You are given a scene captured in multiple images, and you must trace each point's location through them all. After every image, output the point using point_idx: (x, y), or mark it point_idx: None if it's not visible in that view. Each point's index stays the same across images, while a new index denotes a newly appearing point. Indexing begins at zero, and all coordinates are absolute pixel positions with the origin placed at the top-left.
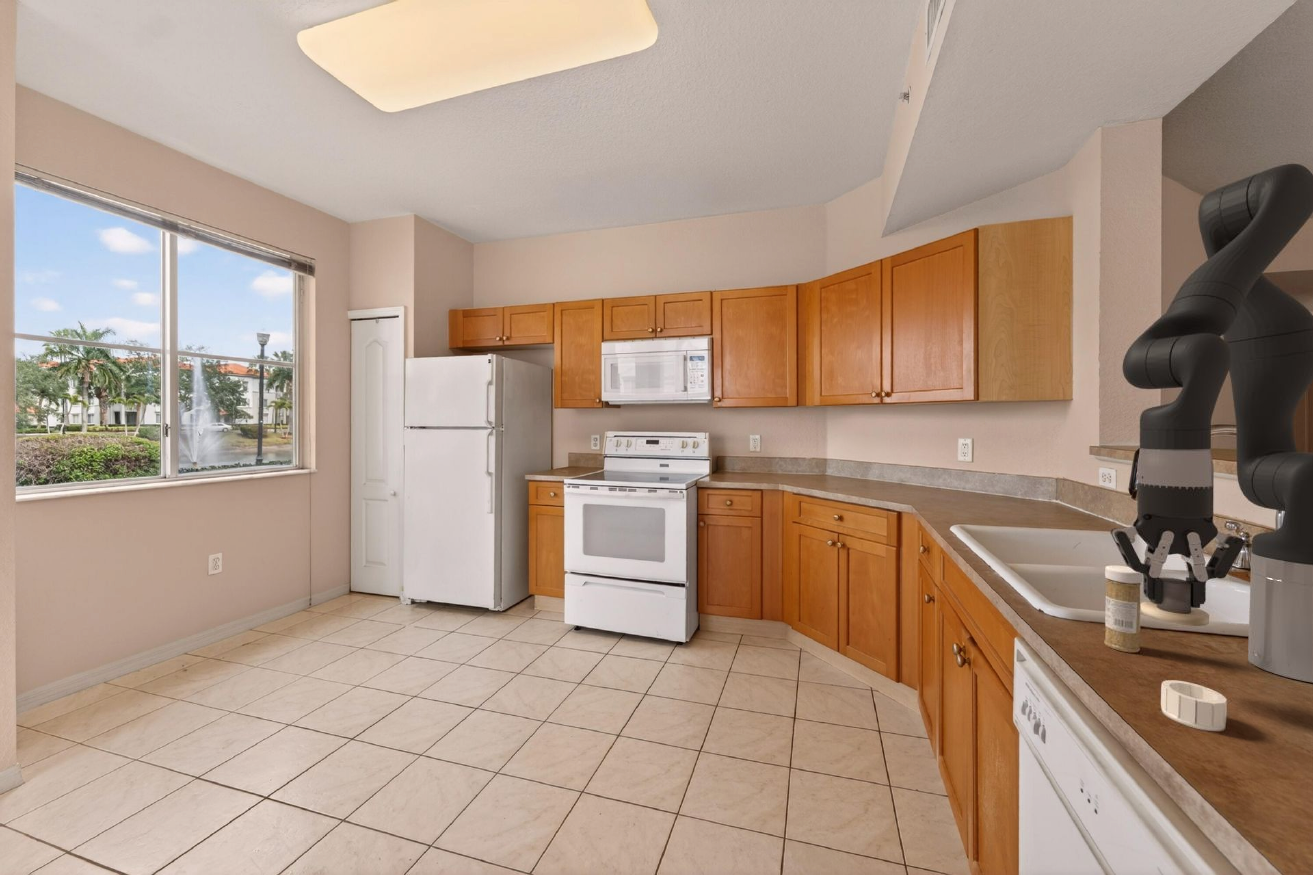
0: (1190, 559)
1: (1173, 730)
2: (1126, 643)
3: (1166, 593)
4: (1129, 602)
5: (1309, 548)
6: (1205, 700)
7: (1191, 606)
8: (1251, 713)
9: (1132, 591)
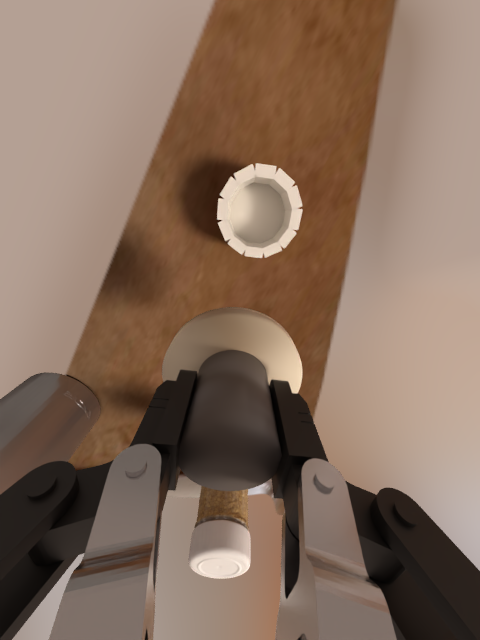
0: (146, 617)
1: (310, 157)
2: None
3: (266, 401)
4: None
5: None
6: (260, 174)
7: (196, 377)
8: (165, 261)
9: (217, 499)
